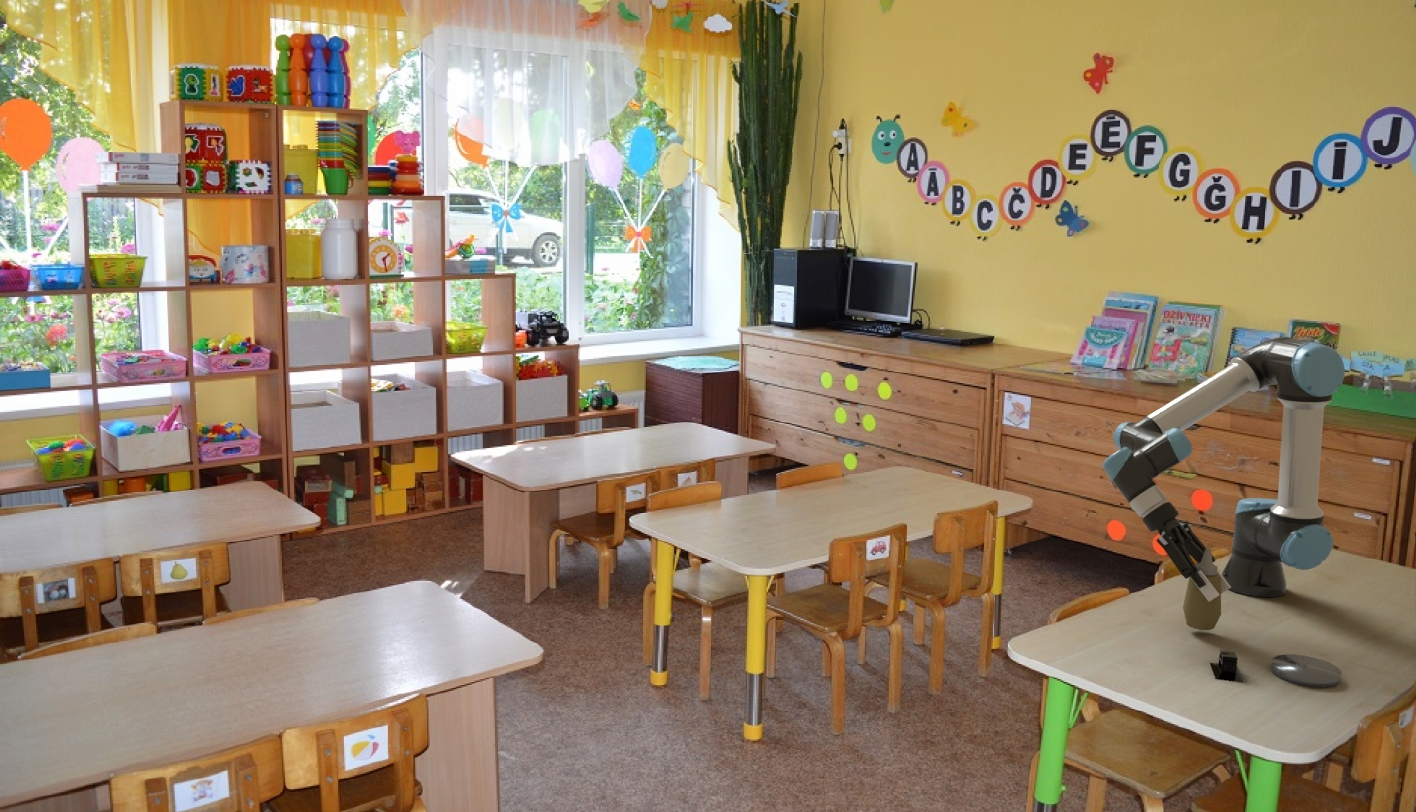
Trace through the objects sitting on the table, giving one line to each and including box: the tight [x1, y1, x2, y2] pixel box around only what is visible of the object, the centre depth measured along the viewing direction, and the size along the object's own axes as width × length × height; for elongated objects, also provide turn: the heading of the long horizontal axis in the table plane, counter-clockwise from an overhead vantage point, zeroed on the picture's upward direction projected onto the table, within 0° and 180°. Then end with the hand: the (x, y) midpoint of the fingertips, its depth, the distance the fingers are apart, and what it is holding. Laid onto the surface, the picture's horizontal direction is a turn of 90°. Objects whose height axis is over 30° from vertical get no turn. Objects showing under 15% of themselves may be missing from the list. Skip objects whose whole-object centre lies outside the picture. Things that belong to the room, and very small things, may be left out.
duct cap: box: [1270, 653, 1343, 689], centre depth 250 cm, size 13×13×2 cm
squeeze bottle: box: [1182, 548, 1222, 631], centre depth 271 cm, size 8×8×18 cm
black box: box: [1209, 649, 1245, 683], centre depth 251 cm, size 12×7×5 cm, turn 165°
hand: (1220, 594), depth 269 cm, fingers closed on squeeze bottle, 6 cm apart
